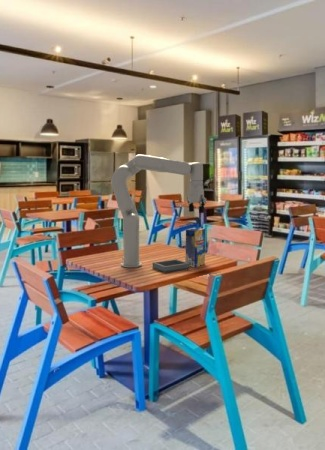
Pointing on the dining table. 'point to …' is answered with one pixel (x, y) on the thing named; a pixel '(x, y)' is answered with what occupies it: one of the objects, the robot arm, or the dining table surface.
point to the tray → (170, 265)
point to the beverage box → (195, 247)
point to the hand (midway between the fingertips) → (196, 212)
